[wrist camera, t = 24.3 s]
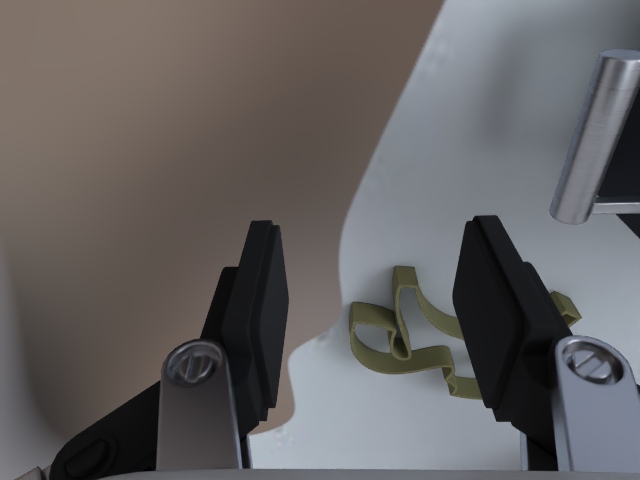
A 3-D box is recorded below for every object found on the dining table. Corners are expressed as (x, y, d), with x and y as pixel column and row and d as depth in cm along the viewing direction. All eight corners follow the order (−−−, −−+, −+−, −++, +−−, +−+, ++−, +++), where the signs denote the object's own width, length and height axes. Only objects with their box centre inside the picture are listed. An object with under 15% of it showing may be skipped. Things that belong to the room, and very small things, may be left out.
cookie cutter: (595, 298, 33) (608, 317, 31) (520, 388, 40) (527, 408, 38) (369, 256, 31) (371, 274, 29) (332, 358, 38) (332, 377, 36)
